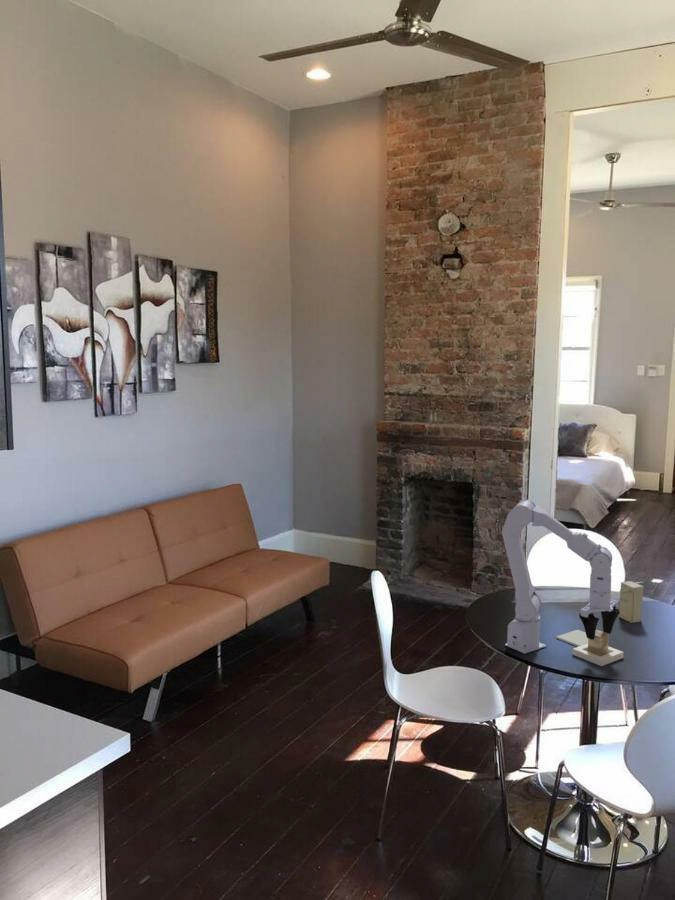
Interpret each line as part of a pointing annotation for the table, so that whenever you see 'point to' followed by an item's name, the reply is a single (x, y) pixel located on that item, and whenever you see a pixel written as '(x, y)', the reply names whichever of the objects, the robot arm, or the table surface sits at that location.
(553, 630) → the table surface
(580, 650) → the holder
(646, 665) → the table surface
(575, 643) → the tile
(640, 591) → the skincare box
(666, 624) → the table surface
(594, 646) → the birch block
